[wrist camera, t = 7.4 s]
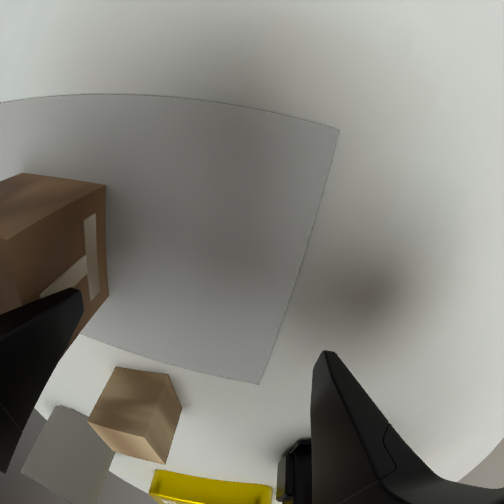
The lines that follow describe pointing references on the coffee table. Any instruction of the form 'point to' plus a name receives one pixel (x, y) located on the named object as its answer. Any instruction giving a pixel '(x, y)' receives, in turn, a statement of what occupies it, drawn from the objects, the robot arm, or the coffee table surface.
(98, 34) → the coffee table surface
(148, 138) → the rubber mat
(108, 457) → the cup
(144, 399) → the oak block
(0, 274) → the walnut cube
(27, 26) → the coffee table surface
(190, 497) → the element tile
